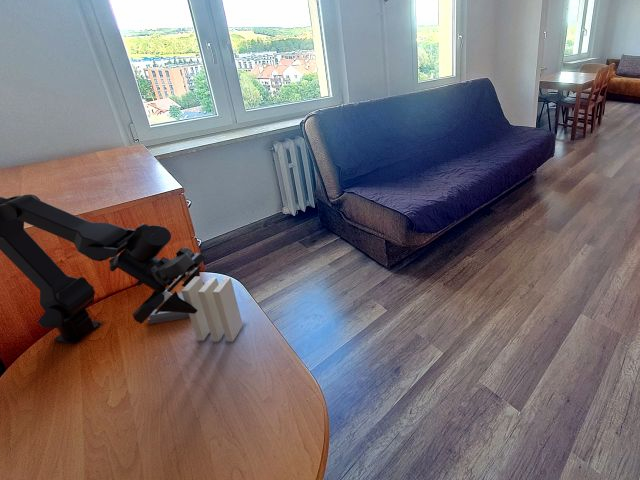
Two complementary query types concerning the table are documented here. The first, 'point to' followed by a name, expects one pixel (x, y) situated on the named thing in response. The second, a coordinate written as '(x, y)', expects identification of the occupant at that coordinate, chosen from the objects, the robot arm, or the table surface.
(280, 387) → the table surface
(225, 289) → the cream books
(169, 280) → the robot arm
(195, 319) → the slim cream book
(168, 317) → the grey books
